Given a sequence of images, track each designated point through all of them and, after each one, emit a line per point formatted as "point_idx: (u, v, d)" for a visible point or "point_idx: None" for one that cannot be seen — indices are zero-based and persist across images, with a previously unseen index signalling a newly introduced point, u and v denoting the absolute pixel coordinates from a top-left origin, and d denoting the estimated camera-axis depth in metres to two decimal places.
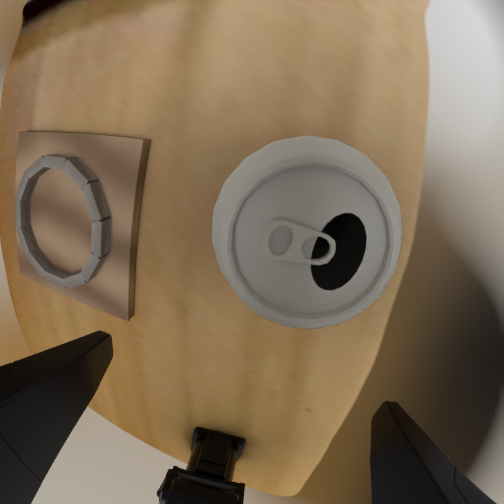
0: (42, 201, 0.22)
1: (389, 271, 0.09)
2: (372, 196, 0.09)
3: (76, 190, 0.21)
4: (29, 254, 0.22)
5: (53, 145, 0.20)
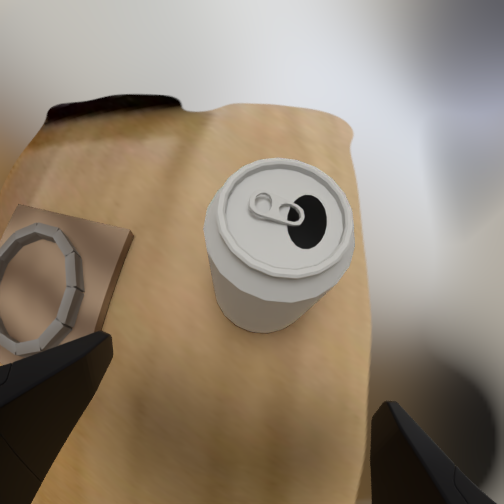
0: (18, 269, 0.21)
1: (349, 224, 0.12)
2: (322, 185, 0.14)
3: (56, 264, 0.21)
4: None
5: (46, 222, 0.23)
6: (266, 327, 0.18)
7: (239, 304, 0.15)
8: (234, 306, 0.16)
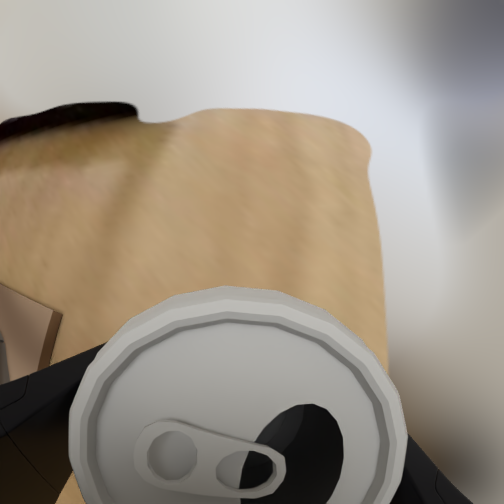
0: None
1: (393, 480, 0.03)
2: (344, 366, 0.05)
3: None
4: None
5: None
6: None
7: None
8: None
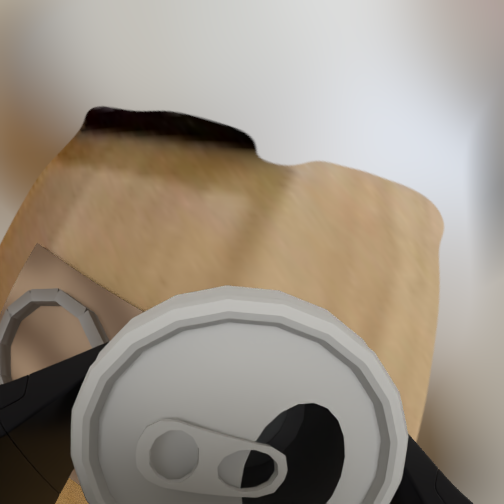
0: (34, 333, 0.18)
1: (394, 479, 0.03)
2: (345, 366, 0.05)
3: (81, 347, 0.18)
4: None
5: (70, 284, 0.20)
6: None
7: None
8: None
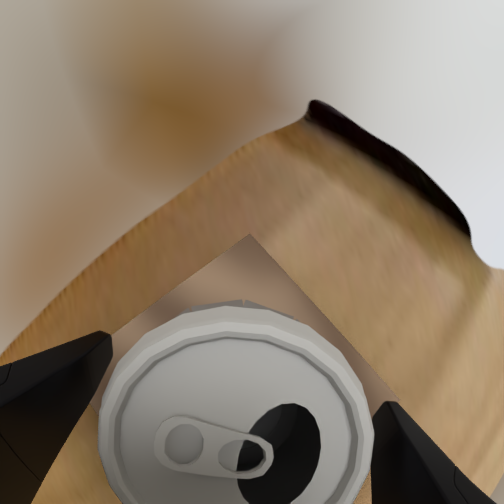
0: None
1: (362, 469, 0.05)
2: (321, 374, 0.06)
3: None
4: None
5: (297, 311, 0.18)
6: None
7: None
8: None
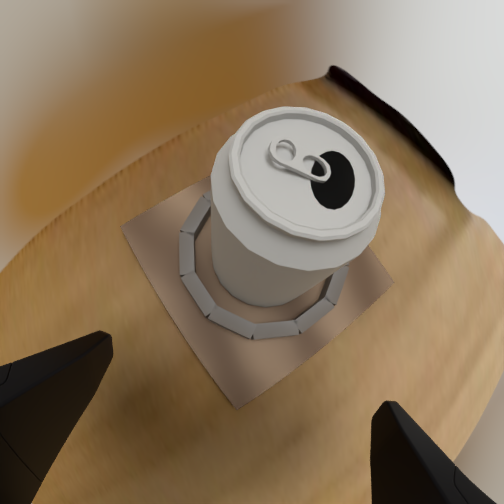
0: None
1: (380, 189, 0.10)
2: (350, 144, 0.11)
3: None
4: (189, 234, 0.20)
5: None
6: (267, 300, 0.17)
7: (242, 269, 0.13)
8: (235, 272, 0.14)
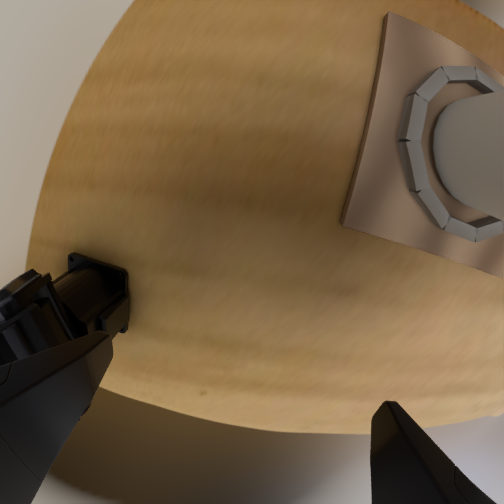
0: None
1: None
2: None
3: None
4: (446, 77, 0.12)
5: None
6: (461, 184, 0.13)
7: (499, 154, 0.08)
8: (483, 146, 0.09)
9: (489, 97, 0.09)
